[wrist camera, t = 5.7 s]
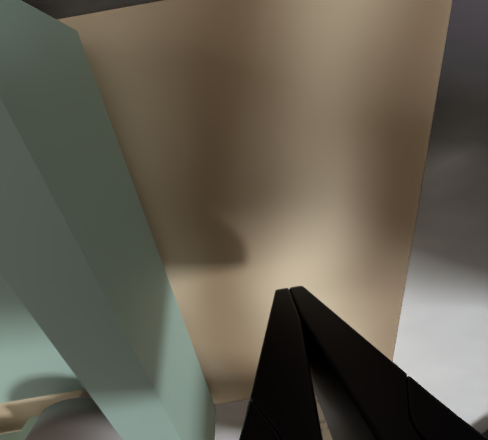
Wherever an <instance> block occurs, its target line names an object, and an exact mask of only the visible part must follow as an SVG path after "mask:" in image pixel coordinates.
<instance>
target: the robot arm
mask: <svg viewBox="0 0 488 440" xmlns="http://www.w3.org/2000/svg"><path fill="white" fill-rule="evenodd" d="M314 391H315V393H316V396H317V399H318V401H319V404H320V407H321V409H322V412H323V415H324V418H325V420H326V423H327V426H328V428H329V431H330V434H331V436H332V439H333V440H488V439H487V438H486V437H485V436H483V435H482V434H481V433H480V432H478V431H477V430H476V429H474V428H473V427H472V426H470V425H469V424H468V423H466V422H465V421H464V420H462V419H461V418H460V417H458V416H457V415H456V414H455V413H454V412H452V411H451V410H450V409H449V408H447V407H446V406H445V405H444V404H442V403H441V402H440V401H439V400H438V399H436V398H435V397H434V396H433V395H431V394H430V393H429V392H428V391H427V390H425V389H424V388H423V387H422V386H421V385H419V384H418V383H417V382H416V381H415V380H414V379H412V378H411V377H410V376H408V377H407V374H406V373H405V372H404V371H403V370H402V369H400V368H399V367H398V366H397V365H396V364H394V363H393V362H392V361H391V360H390V359H389V358H387V357H386V356H385V355H384V354H383V353H381V352H380V351H379V350H378V349H377V348H376V347H374V346H373V345H372V344H371V343H370V342H368V341H367V340H366V339H365V338H364V337H363V336H361V335H360V334H359V333H358V332H357V331H355V330H354V329H353V328H352V327H351V326H350V325H348V324H347V323H346V322H345V321H344V320H342V319H341V318H340V317H339V316H338V315H337V314H335V313H334V312H333V311H332V310H331V309H329V308H328V307H327V306H326V305H325V304H324V303H322V302H321V301H320V300H319V299H318V298H316V297H315V296H314V295H313V294H312V293H311V292H309V291H308V290H307V289H306V288H305V287H303V286H295V287H290V289H288V288H283V289H277V290H276V291H275V294H274V298H273V303H272V307H271V311H270V315H269V319H268V324H267V328H266V332H265V336H264V341H263V345H262V349H261V353H260V357H259V362H258V366H257V370H256V374H255V379H254V383H253V387H252V391H251V395H250V401H249V403H248V407H247V411H246V416H245V420H244V424H243V427H242V431H241V435H240V439H239V440H323V438H322V432H321V427H320V421H319V416H318V410H317V405H316V399H315V394H314Z"/></svg>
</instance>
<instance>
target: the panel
mask: <svg viewBox="0 0 488 440" xmlns="http://www.w3.org/2000/svg"><path fill="white" fill-rule="evenodd" d="M83 389H86V390H87V392H88V393H89V395H90V396H91V397H92V399H93V400H94V401H95V403H96V404H97V405H98V407H99V408H100V410H101V411H102V412H103V414H104V415H105V416H106V418H107V419H108V420H109V422H110V423H111V425H112V426H113V427H114V429H115V430H116V431H117V433H118V434H119V435H120V437H121V438H122V440H214V439H215V414H216V408H215V405H214V402H213V400H212V397H211V394H210V392H209V389H208V386H207V383H206V381H205V378H204V375H203V372H202V370H201V367H200V364H199V362H198V359H197V356H196V353H195V351H194V348H193V345H192V342H191V340H190V337H189V334H188V332H187V329H186V326H185V323H184V321H183V318H182V315H181V312H180V310H179V307H178V304H177V302H176V299H175V296H174V293H173V291H172V288H171V285H170V282H169V280H168V277H167V274H166V272H165V269H164V266H163V263H162V261H161V258H160V255H159V252H158V250H157V247H156V244H155V242H154V239H153V236H152V233H151V231H150V228H149V225H148V222H147V220H146V217H145V214H144V212H143V209H142V206H141V203H140V201H139V198H138V195H137V192H136V190H135V187H134V184H133V182H132V179H131V176H130V173H129V171H128V168H127V165H126V162H125V160H124V157H123V154H122V152H121V149H120V146H119V143H118V141H117V138H116V135H115V132H114V130H113V127H112V124H111V122H110V119H109V116H108V113H107V111H106V108H105V105H104V102H103V100H102V97H101V94H100V92H99V89H98V86H97V83H96V81H95V78H94V75H93V72H92V70H91V67H90V64H89V62H88V59H87V56H86V53H85V51H84V48H83V45H82V42H81V40H80V37H79V34H78V32H77V31H76V30H75V29H73V28H71V27H69V26H67V25H66V24H64V23H62V22H60V21H58V20H56V19H55V18H53V17H51V16H49V15H47V14H45V13H44V12H42V11H40V10H38V9H36V8H34V7H33V6H31V5H29V4H27V3H25V2H24V1H22V0H0V403H5V402H11V401H17V400H23V399H29V398H35V397H41V396H47V395H53V394H59V393H65V392H71V391H77V390H83ZM38 418H39V416H36V417H30V418H29V419H28V420H27V422H26V423H25V425H24V426H23V428H22V430H21V431H17V432H10V433H4V434H0V440H25V439H26V437H27V435H28V434H29V432H30V431H31V429H32V427H33V426H34V424H35V423H36V421H37V419H38Z"/></svg>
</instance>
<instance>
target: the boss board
mask: <svg viewBox="0 0 488 440" xmlns="http://www.w3.org/2000/svg"><path fill="white" fill-rule="evenodd" d="M451 6H452V0H163V1H157V2H152V3H146V4H141V5H135V6H129V7H124V8H118V9H112V10H107V11H101V12H96V13H90V14H84V15H79V16H73V17H67V18H62V19H56V20H58V21H60V22H62V23H64V24H66V25H67V26H69V27H71V28H73V29H75V30H76V31H77V32H78V34H79V37H80V40H81V42H82V45H83V48H84V51H85V53H86V56H87V59H88V62H89V64H90V67H91V70H92V72H93V75H94V78H95V81H96V83H97V86H98V89H99V92H100V94H101V97H102V100H103V102H104V105H105V108H106V111H107V113H108V116H109V119H110V122H111V124H112V127H113V130H114V132H115V135H116V138H117V141H118V143H119V146H120V149H121V152H122V154H123V157H124V160H125V162H126V165H127V168H128V171H129V173H130V176H131V179H132V182H133V184H134V187H135V190H136V192H137V195H138V198H139V201H140V203H141V206H142V209H143V212H144V214H145V217H146V220H147V222H148V225H149V228H150V231H151V233H152V236H153V239H154V242H155V244H156V247H157V250H158V252H159V255H160V258H161V261H162V263H163V266H164V269H165V272H166V274H167V277H168V280H169V282H170V285H171V288H172V291H173V293H174V296H175V299H176V302H177V304H178V307H179V310H180V312H181V315H182V318H183V321H184V323H185V326H186V329H187V332H188V334H189V337H190V340H191V342H192V345H193V348H194V351H195V353H196V356H197V359H198V362H199V364H200V367H201V370H202V372H203V375H204V378H205V381H206V383H207V386H208V389H209V392H210V394H211V397H212V400H213V402H214V405H215V404H221V403H227V402H233V401H239V400H245V399H250V395H251V391H252V387H253V383H254V379H255V374H256V370H257V366H258V362H259V357H260V353H261V349H262V345H263V341H264V336H265V332H266V328H267V324H268V319H269V315H270V311H271V307H272V303H273V298H274V294H275V291H276V290H277V289H283V288H288V289H290V287H295V286H303V287H305V288H306V289H307V290H308V291H309V292H311V293H312V294H313V295H314V296H315V297H316V298H318V299H319V300H320V301H321V302H322V303H324V304H325V305H326V306H327V307H328V308H329V309H331V310H332V311H333V312H334V313H335V314H337V315H338V316H339V317H340V318H341V319H342V320H344V321H345V322H346V323H347V324H348V325H350V326H351V327H352V328H353V329H354V330H355V331H357V332H358V333H359V334H360V335H361V336H363V337H364V338H365V339H366V340H367V341H368V342H370V343H371V344H372V345H373V346H374V347H376V348H377V349H378V350H379V351H380V352H381V353H383V354H384V355H385V356H386V357H387V358H389V359H390V360H391V361H393V355H394V349H395V343H396V337H397V331H398V325H399V319H400V313H401V307H402V301H403V295H404V289H405V283H406V277H407V271H408V265H409V259H410V253H411V247H412V241H413V235H414V229H415V223H416V217H417V211H418V205H419V199H420V193H421V186H422V180H423V174H424V168H425V162H426V156H427V150H428V144H429V138H430V132H431V126H432V120H433V114H434V108H435V102H436V96H437V90H438V84H439V78H440V72H441V66H442V60H443V54H444V48H445V42H446V36H447V30H448V24H449V18H450V12H451ZM36 416H39V418H38V419H37V421H36V423H35V424H34V426H33V427H32V429H31V431H30V432H29V434H28V435H27V437H26V439H25V440H122V438H121V437H120V435H119V434H118V433H117V431H116V430H115V429H114V427H113V426H112V425H111V423H110V422H109V420H108V419H107V418H106V416H105V415H104V414H103V412H102V411H101V410H100V408H99V407H98V405H97V404H96V403H95V401H94V400H93V399H92V397H91V396H90V395H89V393H88V392H87V390H86V389H83V390H77V391H71V392H65V393H59V394H53V395H47V396H41V397H35V398H29V399H23V400H17V401H11V402H5V403H0V434H4V433H10V432H17V431H21V430H22V428H23V426H24V425H25V423H26V422H27V420H28V419H29V418H30V417H36Z"/></svg>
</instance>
